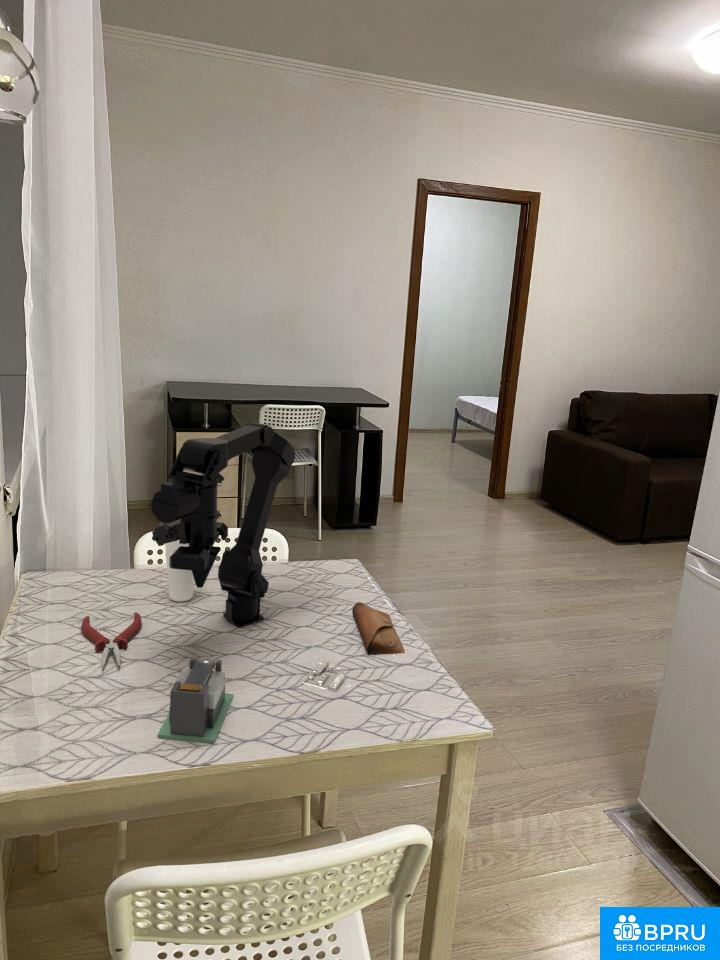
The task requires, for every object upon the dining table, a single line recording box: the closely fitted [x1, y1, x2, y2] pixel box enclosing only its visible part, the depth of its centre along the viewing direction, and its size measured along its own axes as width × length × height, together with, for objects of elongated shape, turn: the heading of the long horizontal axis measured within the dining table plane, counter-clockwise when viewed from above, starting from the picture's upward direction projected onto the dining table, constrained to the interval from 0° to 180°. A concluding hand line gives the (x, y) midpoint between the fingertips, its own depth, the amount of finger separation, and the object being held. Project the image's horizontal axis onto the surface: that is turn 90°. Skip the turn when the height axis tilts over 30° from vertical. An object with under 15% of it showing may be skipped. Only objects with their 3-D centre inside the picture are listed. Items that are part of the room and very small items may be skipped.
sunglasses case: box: [351, 601, 406, 656], centre depth 149 cm, size 18×7×7 cm, turn 11°
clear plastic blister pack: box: [300, 661, 347, 693], centre depth 132 cm, size 8×7×2 cm
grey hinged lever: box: [179, 658, 216, 692], centre depth 115 cm, size 2×3×11 cm
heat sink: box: [168, 667, 226, 729], centre depth 117 cm, size 8×7×6 cm
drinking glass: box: [164, 540, 195, 603], centre depth 157 cm, size 7×7×15 cm
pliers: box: [80, 612, 143, 671], centre depth 137 cm, size 12×20×3 cm, turn 18°
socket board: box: [156, 657, 234, 744], centre depth 116 cm, size 13×9×8 cm
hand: (200, 586), depth 135 cm, fingers closed
